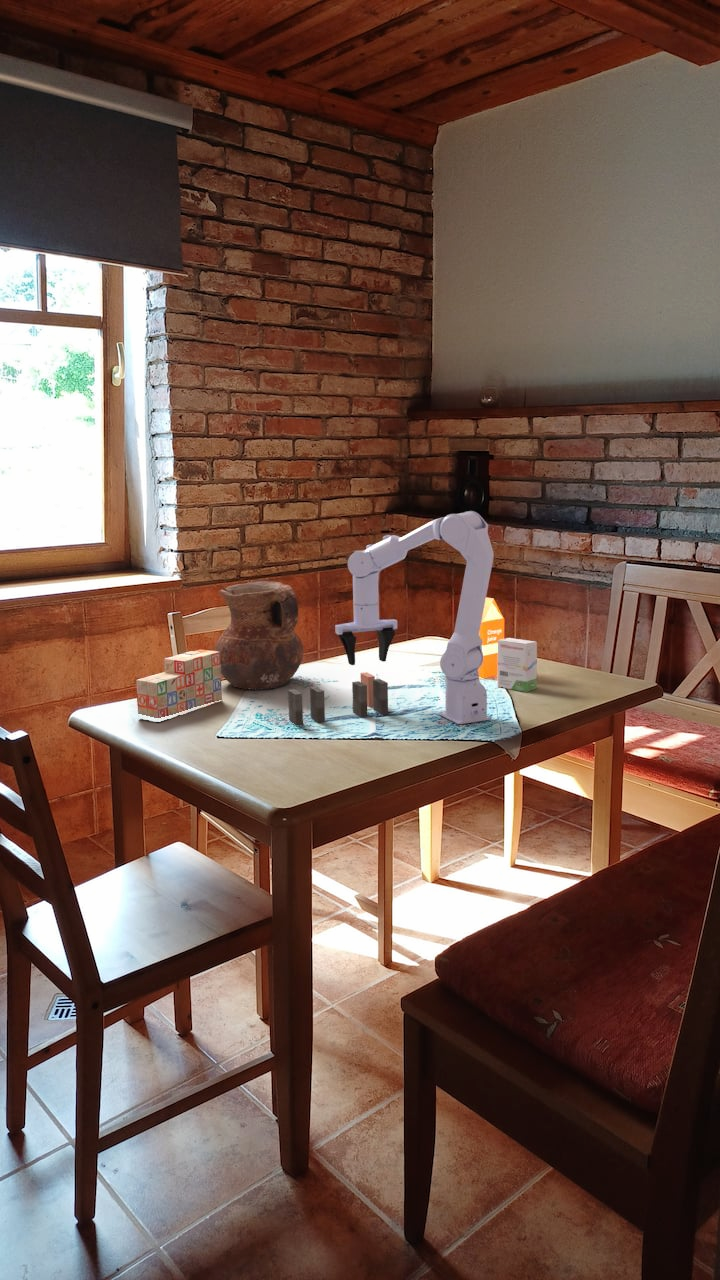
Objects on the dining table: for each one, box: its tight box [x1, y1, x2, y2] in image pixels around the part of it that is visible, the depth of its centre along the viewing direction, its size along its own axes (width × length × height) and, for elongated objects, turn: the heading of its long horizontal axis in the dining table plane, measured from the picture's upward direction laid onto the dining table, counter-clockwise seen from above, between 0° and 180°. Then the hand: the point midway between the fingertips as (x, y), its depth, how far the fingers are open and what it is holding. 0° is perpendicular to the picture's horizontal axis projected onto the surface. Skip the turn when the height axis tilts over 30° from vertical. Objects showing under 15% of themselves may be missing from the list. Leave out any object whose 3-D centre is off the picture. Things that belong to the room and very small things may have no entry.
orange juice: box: [478, 597, 505, 679], centre depth 250 cm, size 8×9×20 cm
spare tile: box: [360, 672, 376, 708], centre depth 224 cm, size 4×2×7 cm, turn 23°
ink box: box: [497, 637, 538, 693], centre depth 235 cm, size 8×5×12 cm, turn 47°
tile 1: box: [372, 678, 389, 715], centre depth 217 cm, size 4×2×7 cm, turn 23°
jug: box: [214, 580, 304, 690], centre depth 244 cm, size 22×21×25 cm
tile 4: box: [287, 688, 304, 726], centre depth 210 cm, size 4×2×7 cm, turn 23°
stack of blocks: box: [135, 649, 223, 718], centre depth 221 cm, size 21×6×12 cm, turn 148°
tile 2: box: [351, 681, 368, 718], centre depth 215 cm, size 4×2×7 cm, turn 23°
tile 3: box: [309, 686, 326, 724], centre depth 212 cm, size 4×2×7 cm, turn 23°
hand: (367, 662), depth 222 cm, fingers open, 7 cm apart
